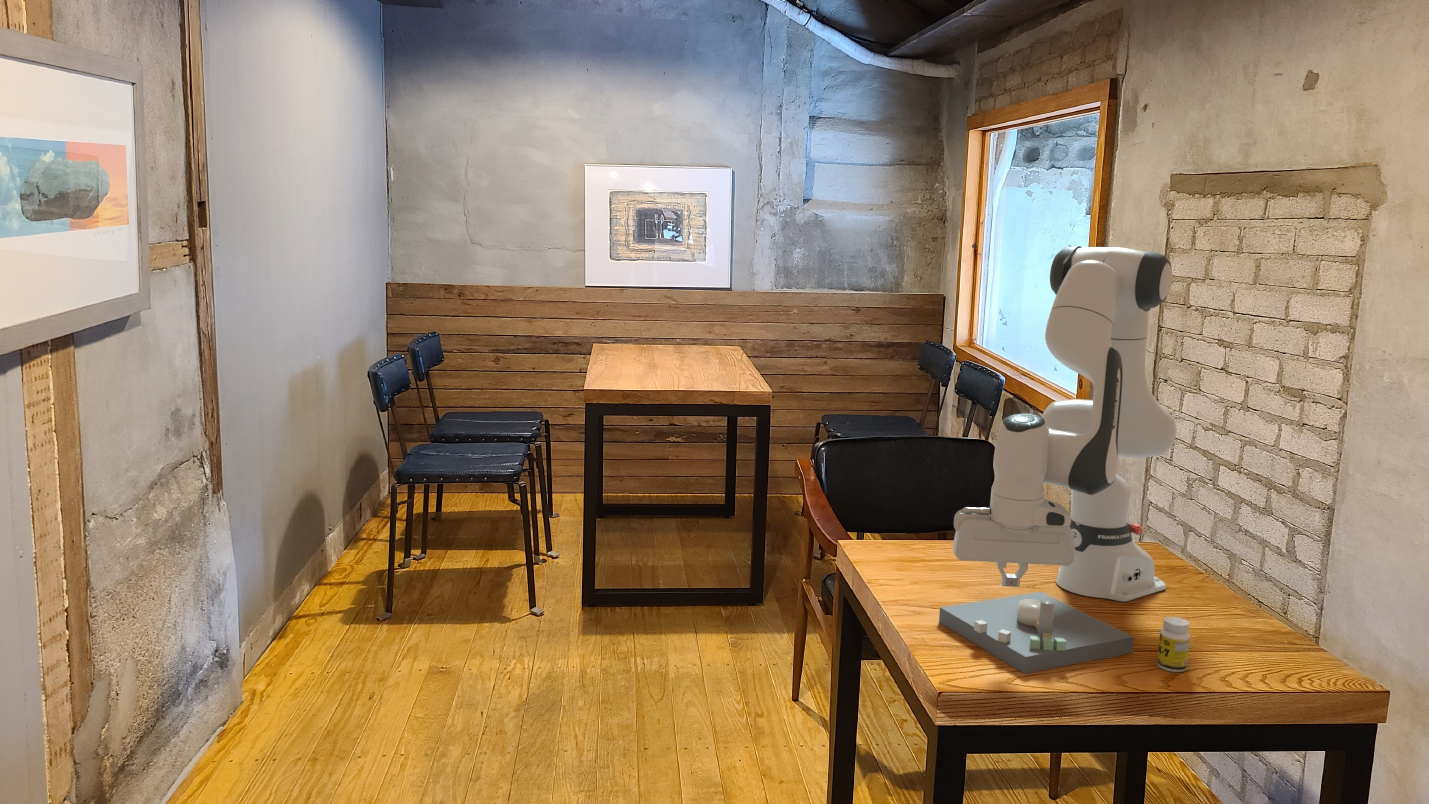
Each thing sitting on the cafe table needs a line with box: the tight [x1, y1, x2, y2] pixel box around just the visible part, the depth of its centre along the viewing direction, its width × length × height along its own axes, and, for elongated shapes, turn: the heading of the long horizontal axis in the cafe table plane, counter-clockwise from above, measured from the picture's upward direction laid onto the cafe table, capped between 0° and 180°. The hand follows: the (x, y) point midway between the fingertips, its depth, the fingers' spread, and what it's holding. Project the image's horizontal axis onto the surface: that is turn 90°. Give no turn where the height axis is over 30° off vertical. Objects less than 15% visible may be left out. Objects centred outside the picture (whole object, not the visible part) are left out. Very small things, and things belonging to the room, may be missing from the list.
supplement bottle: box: [1156, 616, 1191, 673], centre depth 187 cm, size 5×5×8 cm
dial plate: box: [938, 591, 1134, 675], centre depth 199 cm, size 25×24×5 cm
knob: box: [1017, 599, 1055, 638], centre depth 195 cm, size 13×6×6 cm, turn 177°
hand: (1010, 585), depth 190 cm, fingers closed
